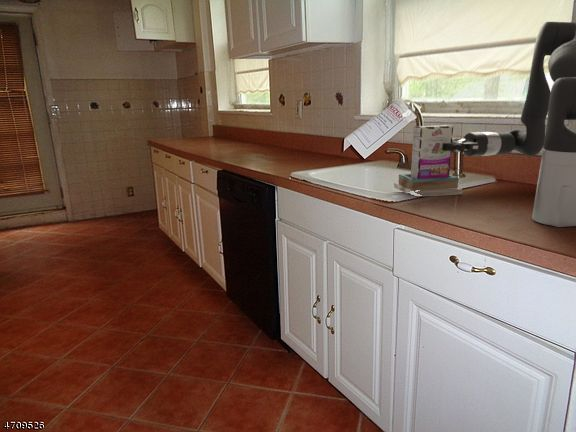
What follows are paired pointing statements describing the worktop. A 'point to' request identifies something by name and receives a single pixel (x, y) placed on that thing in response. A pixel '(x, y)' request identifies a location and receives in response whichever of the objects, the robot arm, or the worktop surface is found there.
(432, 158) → the candy bar box
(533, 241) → the worktop surface
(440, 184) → the foundation
